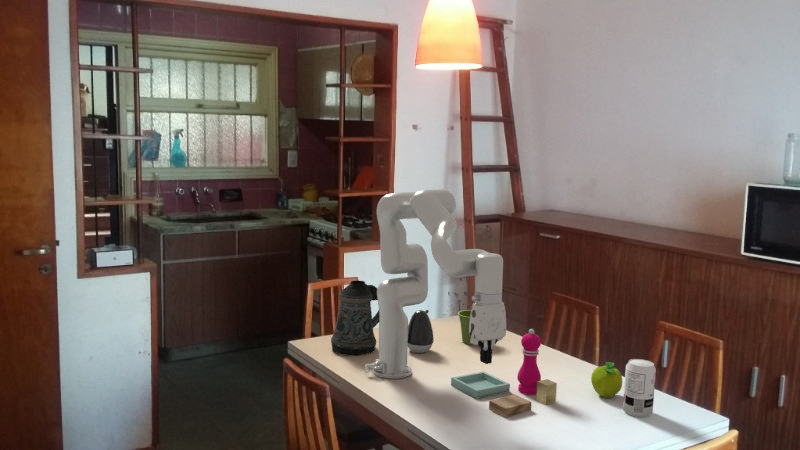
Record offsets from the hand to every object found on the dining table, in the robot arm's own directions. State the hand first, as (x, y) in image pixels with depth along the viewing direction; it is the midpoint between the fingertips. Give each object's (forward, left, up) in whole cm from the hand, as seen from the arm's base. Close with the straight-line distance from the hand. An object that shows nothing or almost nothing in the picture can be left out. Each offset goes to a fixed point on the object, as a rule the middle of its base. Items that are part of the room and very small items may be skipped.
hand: (485, 362), depth 201 cm
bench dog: (+24, 0, -16) cm, 29 cm away
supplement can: (+42, -19, -16) cm, 49 cm away
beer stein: (-2, +72, -16) cm, 74 cm away
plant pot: (+41, +59, -16) cm, 74 cm away
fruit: (+44, -5, -16) cm, 47 cm away
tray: (+13, +18, -16) cm, 28 cm away
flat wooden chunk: (+10, 0, -16) cm, 19 cm away
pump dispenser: (+17, +59, -16) cm, 64 cm away
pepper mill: (+25, +9, -16) cm, 31 cm away
